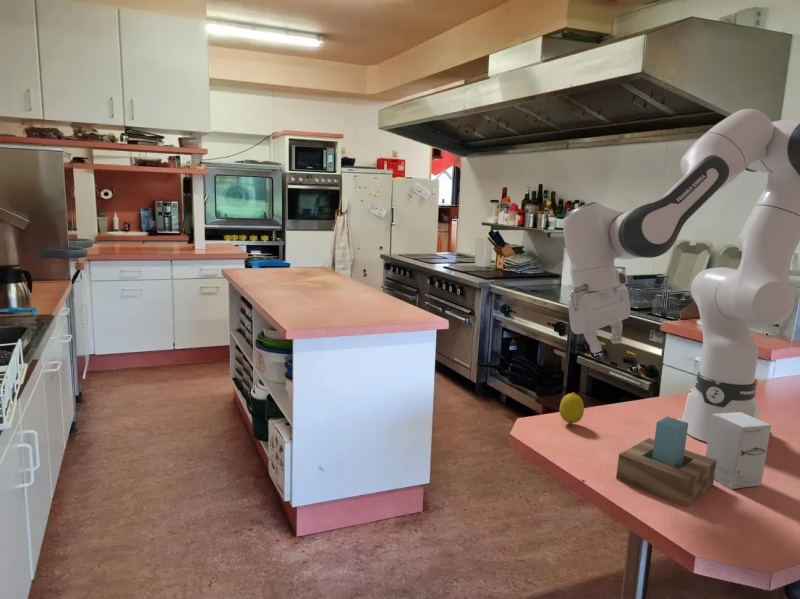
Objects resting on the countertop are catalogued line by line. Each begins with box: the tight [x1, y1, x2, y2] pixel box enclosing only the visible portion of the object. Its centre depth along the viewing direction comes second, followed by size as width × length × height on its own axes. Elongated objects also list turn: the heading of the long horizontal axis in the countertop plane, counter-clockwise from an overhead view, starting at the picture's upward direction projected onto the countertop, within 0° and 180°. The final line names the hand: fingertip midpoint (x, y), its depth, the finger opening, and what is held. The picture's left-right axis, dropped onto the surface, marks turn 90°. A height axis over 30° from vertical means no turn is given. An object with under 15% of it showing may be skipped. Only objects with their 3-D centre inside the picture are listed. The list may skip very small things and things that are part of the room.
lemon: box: [559, 392, 585, 426], centre depth 137 cm, size 6×6×8 cm
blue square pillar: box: [652, 416, 688, 469], centre depth 110 cm, size 4×4×11 cm
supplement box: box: [704, 412, 772, 490], centre depth 112 cm, size 7×7×13 cm
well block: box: [615, 437, 717, 508], centre depth 110 cm, size 13×13×5 cm
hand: (607, 347), depth 120 cm, fingers open, 8 cm apart
